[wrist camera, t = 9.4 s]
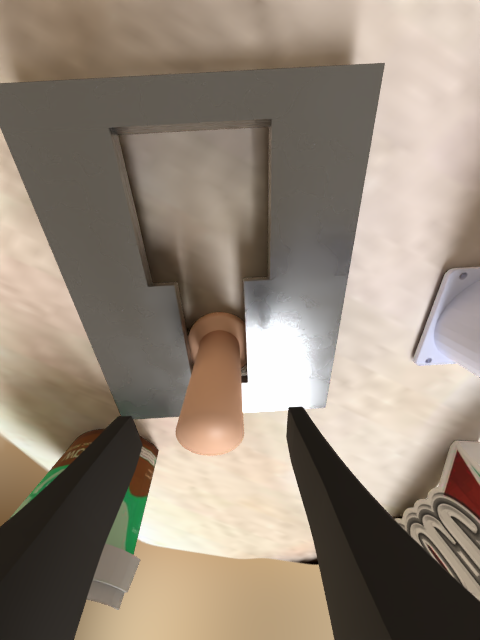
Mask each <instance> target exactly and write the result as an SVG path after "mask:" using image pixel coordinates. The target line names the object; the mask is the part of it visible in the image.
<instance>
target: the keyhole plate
mask: <svg viewBox="0 0 480 640" xmlns="http://www.w3.org/2000/svg"><path fill="white" fill-rule="evenodd" d="M384 65H385V63H375V64H356V65H338V66H319V67H300V68H281V69H262V70H244V71H225V72H206V73H187V74H169V75H150V76H131V77H112V78H93V79H75V80H56V81H37V82H18V83H0V128H1V130H2V133H3V135H4V137H5V140H6V142H7V145H8V147H9V149H10V152H11V154H12V156H13V159H14V161H15V164H16V166H17V168H18V171H19V173H20V176H21V178H22V180H23V183H24V185H25V188H26V190H27V192H28V195H29V197H30V200H31V202H32V204H33V207H34V209H35V211H36V214H37V216H38V219H39V221H40V223H41V226H42V228H43V231H44V233H45V235H46V238H47V240H48V243H49V245H50V247H51V250H52V252H53V254H54V257H55V259H56V262H57V264H58V266H59V269H60V271H61V274H62V276H63V278H64V281H65V283H66V286H67V288H68V290H69V293H70V295H71V298H72V300H73V302H74V305H75V307H76V309H77V312H78V314H79V317H80V319H81V321H82V324H83V326H84V329H85V331H86V333H87V336H88V338H89V341H90V343H91V345H92V348H93V350H94V352H95V355H96V357H97V360H98V362H99V364H100V367H101V369H102V372H103V374H104V376H105V379H106V381H107V384H108V386H109V388H110V391H111V393H112V395H113V398H114V400H115V403H116V405H117V407H118V410H119V412H120V415H121V416H132V419H147V418H163V417H179V416H180V413H181V409H182V406H183V402H184V399H185V395H186V392H187V388H188V385H189V381H190V377H191V374H192V370H193V364H192V359H191V353H190V348H189V342H188V337H187V331H186V326H185V320H184V315H183V309H182V304H181V298H180V293H179V287H178V282H165V283H153V282H152V278H151V274H150V269H149V265H148V261H147V257H146V252H145V248H144V244H143V239H142V235H141V231H140V227H139V222H138V218H137V214H136V210H135V205H134V201H133V197H132V193H131V188H130V184H129V180H128V176H127V171H126V167H125V163H124V159H123V154H122V150H121V146H120V142H119V137H118V135H126V134H144V133H162V132H181V131H199V130H218V129H236V128H254V127H269V180H268V277H252V278H243V284H244V306H245V328H246V351H247V373H248V376H241V383H242V403H243V413H247V412H263V411H280V410H288V407H299V406H302V407H303V408H304V409H313V408H325V407H326V401H327V395H328V390H329V384H330V378H331V372H332V366H333V361H334V355H335V349H336V343H337V337H338V332H339V326H340V320H341V314H342V308H343V303H344V297H345V291H346V285H347V279H348V274H349V268H350V262H351V256H352V251H353V245H354V239H355V233H356V227H357V222H358V216H359V210H360V204H361V198H362V193H363V187H364V181H365V175H366V169H367V164H368V158H369V152H370V146H371V140H372V135H373V129H374V123H375V117H376V111H377V106H378V100H379V94H380V88H381V82H382V77H383V71H384Z"/></svg>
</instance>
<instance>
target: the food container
mask: <svg viewBox="0 0 480 640" xmlns="http://www.w3.org/2000/svg"><path fill="white" fill-rule="evenodd" d="M104 430H105V429H98V430H92V431H89V432H86V433H84V434H82V435H81V436H79V437H78V438H77V439H76V440H75V441H74V442H73V444H72V445H71V446H70V447H69V448H68V450H67V451H66V452H65V453H64V454H63V456H62V457H61V458H60V459H59V460H58V461H57V463H56V464H55V465H54V466H53V467H52V469H51V470H50V471H49V472H48V473H47V475H46V476H45V477H44V478H43V479H42V481H41V482H40V483H39V484H38V485H37V487H36V488H35V489H34V490H33V491H32V493H31V494H30V495H29V496H28V497H27V498H26V500H25V501H24V502H23V503H22V504H21V506H20V507H19V508H18V509H17V510H16V512H15V513H14V514H13V515H12V516H14V515H15V514H16V513H17V512H18V511H19V510H21V509H22V508H23V507H24V506H25V505H26V504H28V503H29V502H30V501H31V500H32V499H33V498H34V497H35V496H36V495H38V494H39V493H40V492H41V491H42V490H43V489H44V488H45V487H46V486H47V485H48V484H49V483H51V482H52V481H53V480H54V479H55V478H56V477H57V476H58V475H59V474H60V473H61V472H62V471H63V470H65V469H66V468H67V467H68V466H69V465H70V464H71V463H72V462H73V461H74V460H75V459H76V458H77V457H78V456H79V455H80V454H81V453H82V452H83V451H84V450H85V449H86V448H87V447H88V446H89V445H90V444H91V443H92V442H93V441H94V440H95V439H96V438H97V437H98V436H99V435H100V434H101V433H102V432H103V431H104ZM139 437H140V436H139ZM140 439H141V442H142V444H143V446H142V449H141V453H140V456H139V460H138V463H137V466H136V470H135V472H134V475H133V477H132V480H131V482H130V485H129V487H128V490H127V492H126V495H125V497H124V499H123V502H122V504H121V507H120V509H119V511H118V514H117V516H116V519H115V521H114V523H113V526H112V528H111V531H110V533H109V535H108V538H107V541H106V543H105V546H104V548H103V551H102V554H101V557H100V560H99V563H98V566H97V569H96V572H95V575H94V578H93V581H92V584H91V587H90V590H89V593H88V596H87V600H91V601H95V602H99V603H102V604H105V605H108V606H111V607H113V608H115V609H117V610H119V608H120V605H121V602H122V599H123V596H124V593H125V592H128V590H129V587H130V585H131V582H132V580H133V577H134V575H135V572H136V570H137V567H138V565H139V562H140V559H139V558H137V557H136V556H134V550H135V546H136V542H137V538H138V534H139V530H140V526H141V521H142V517H143V513H144V509H145V505H146V501H147V497H148V493H149V488H150V484H151V480H152V476H153V472H154V468H155V464H156V460H157V455H158V449H157V448H156V447H155V446H154V445H153V444H152V443H150V442H148V441H147V440H145V439H144V438H142V437H140ZM12 516H11V517H12ZM11 517H10V518H11Z"/></svg>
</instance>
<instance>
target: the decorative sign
mask: <svg viewBox="0 0 480 640" xmlns="http://www.w3.org/2000/svg"><path fill="white" fill-rule="evenodd" d="M395 520H396V521H397V523H398V524H399V525H400V526H401V527H402V528H403V529H404V530H405V531H406V532H407V533H408V534H409V535H410V536H411V537H412V538H413V539H414V540H415V541H417V542H418V543H419V544H420V545H421V546H422V547H423V548H424V549H425V550H426V551H427V552H428V553H429V554H430V555H431V556H432V557H433V558H434V559H435V560H436V561H437V562H438V563H439V564H440V565H441V566H442V567H443V568H444V569H446V570H447V571H448V572H449V573H450V574H451V575H452V576H453V577H454V578H455V579H456V580H457V581H458V582H459V583H461V584H462V585H463V586H464V587H465V588H466V589H467V590H468V591H469V592H470V593H471V594H473V595H474V596H475V597H476V598H477V599H478V600H479V601H480V442H478V441H454V442H453V443H452V444H451V446H450V448H449V452H448V455H447V459H446V462H445V466H444V469H443V473H442V476H441V479H440V483H439V486H438V487H434V488H432V489H431V490H430V491H429V492H428V496H427V499H419V500H417V501H416V502H415V504H414V508H407V509H406V510H405V511H404V514H403V517H402V518H395Z"/></svg>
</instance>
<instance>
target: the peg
mask: <svg viewBox="0 0 480 640" xmlns="http://www.w3.org/2000/svg"><path fill="white" fill-rule="evenodd" d="M188 342H189V348H190V353H191V359H192V362H193V363H194V367H193V370H192V374H191V377H190V381H189V385H188V388H187V392H186V395H185V399H184V402H183V406H182V409H181V413H180V416H179V420H178V424H177V427H176V437H177V440H178V441H179V443H180V444H181V445H182V446H183V447H184V448H186V449H187V450H189V451H191V452H193V453H196V454H200V455H207V456H213V455H221V454H225V453H228V452H230V451H232V450H234V449H235V448H236V447H238V446H239V445H240V443H241V442H242V440H243V437H244V424H243V403H242V383H241V368H242V367H243V366H244V365H245V364H246V363H247V351H246V328H245V322H244V321H243V320H241V319H240V318H239V317H237V316H235V315H233V314H230V313H225V312H214V313H210V314H207V315H204V316H202V317H201V318H199V319H198V320H197V321H196V322H195V323H194V324H193V326H192V328H191V330H190V332H189V335H188Z"/></svg>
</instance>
